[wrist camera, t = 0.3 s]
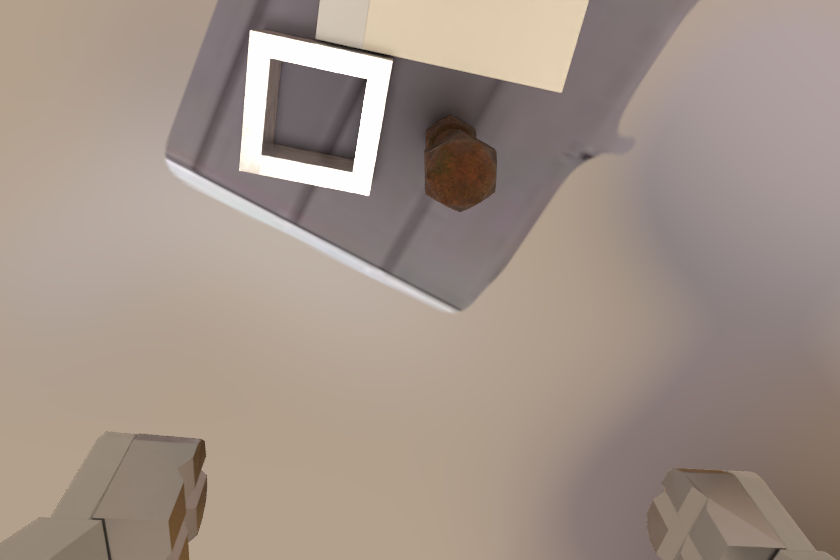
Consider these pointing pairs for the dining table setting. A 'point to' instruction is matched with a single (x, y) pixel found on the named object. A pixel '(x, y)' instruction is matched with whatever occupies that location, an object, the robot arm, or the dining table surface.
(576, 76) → the dining table surface
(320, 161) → the hollow square frame
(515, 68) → the cabinet door
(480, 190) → the bolt
